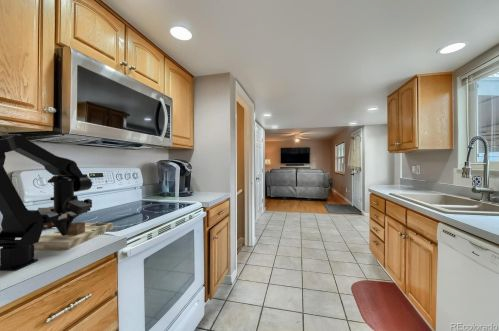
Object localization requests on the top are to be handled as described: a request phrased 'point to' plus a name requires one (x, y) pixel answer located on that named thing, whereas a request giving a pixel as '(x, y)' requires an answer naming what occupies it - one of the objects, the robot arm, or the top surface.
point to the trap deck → (71, 237)
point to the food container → (47, 225)
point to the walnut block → (76, 228)
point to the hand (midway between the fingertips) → (64, 235)
